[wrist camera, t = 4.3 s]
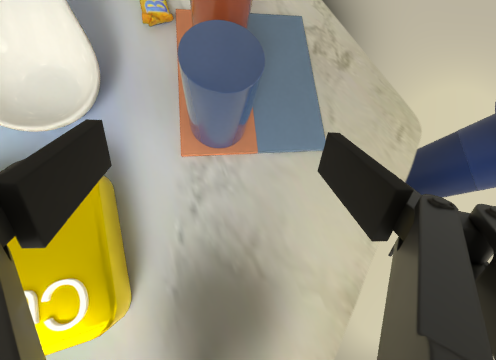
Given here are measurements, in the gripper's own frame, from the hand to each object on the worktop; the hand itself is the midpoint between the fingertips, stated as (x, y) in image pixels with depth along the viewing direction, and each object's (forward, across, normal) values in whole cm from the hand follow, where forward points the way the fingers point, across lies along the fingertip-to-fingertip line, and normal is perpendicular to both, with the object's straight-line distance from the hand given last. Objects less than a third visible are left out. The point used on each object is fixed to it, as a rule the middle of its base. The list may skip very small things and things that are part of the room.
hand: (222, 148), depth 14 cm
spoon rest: (+22, -19, +2) cm, 29 cm away
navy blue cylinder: (+15, 0, -3) cm, 16 cm away
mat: (+20, +4, +1) cm, 21 cm away
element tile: (+5, -17, -15) cm, 23 cm away
